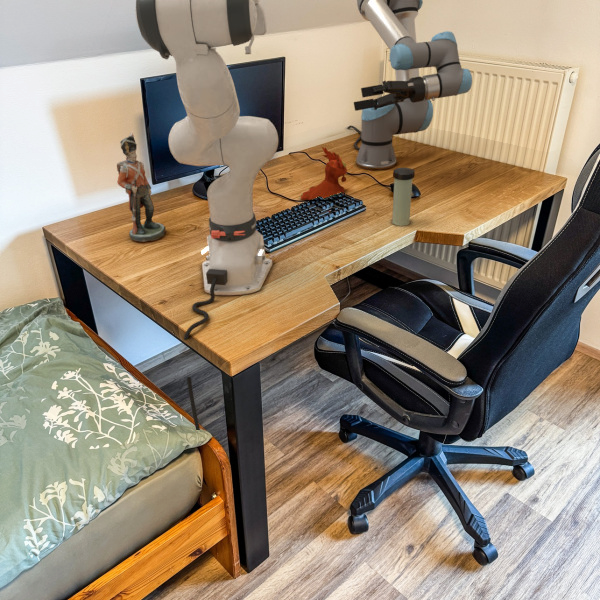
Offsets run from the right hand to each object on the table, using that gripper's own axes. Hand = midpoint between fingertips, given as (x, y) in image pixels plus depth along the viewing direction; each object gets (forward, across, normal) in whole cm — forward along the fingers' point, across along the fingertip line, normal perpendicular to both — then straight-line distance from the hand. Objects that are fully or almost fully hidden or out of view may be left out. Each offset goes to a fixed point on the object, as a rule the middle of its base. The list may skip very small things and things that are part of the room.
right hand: (357, 99), depth 179 cm
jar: (-4, -10, -41) cm, 43 cm away
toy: (+14, +13, -26) cm, 32 cm away
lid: (-5, -18, -28) cm, 33 cm away
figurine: (+72, -6, -31) cm, 78 cm away
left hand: (+38, -24, +11) cm, 46 cm away
